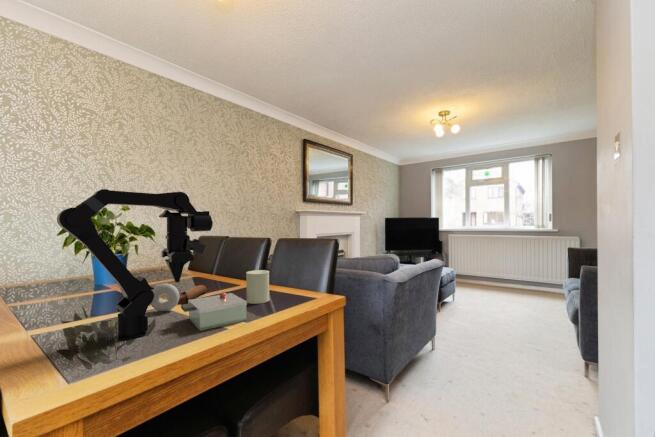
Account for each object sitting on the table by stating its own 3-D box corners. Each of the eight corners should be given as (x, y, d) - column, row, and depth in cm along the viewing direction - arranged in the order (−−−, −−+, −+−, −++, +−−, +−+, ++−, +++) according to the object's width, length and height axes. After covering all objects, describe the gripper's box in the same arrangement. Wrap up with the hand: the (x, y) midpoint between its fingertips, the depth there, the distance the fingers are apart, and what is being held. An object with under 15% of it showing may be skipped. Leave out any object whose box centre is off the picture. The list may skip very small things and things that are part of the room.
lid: (188, 316, 82) (188, 308, 82) (177, 304, 93) (177, 297, 94) (247, 304, 93) (247, 297, 93) (231, 295, 104) (231, 289, 104)
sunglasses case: (188, 292, 131) (195, 279, 131) (201, 300, 131) (209, 287, 131) (166, 304, 113) (175, 289, 113) (182, 313, 113) (191, 298, 113)
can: (267, 303, 112) (267, 272, 112) (243, 304, 112) (243, 272, 112) (271, 297, 121) (271, 268, 121) (249, 297, 121) (249, 269, 121)
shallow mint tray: (200, 330, 84) (200, 313, 84) (188, 318, 95) (188, 303, 95) (246, 320, 93) (246, 304, 93) (231, 310, 104) (231, 296, 104)
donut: (147, 313, 101) (147, 284, 101) (151, 310, 104) (151, 282, 104) (177, 312, 102) (177, 283, 102) (181, 309, 106) (181, 281, 106)
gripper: (212, 232, 88) (212, 283, 88) (196, 230, 103) (197, 274, 103) (171, 233, 82) (171, 288, 81) (161, 231, 96) (161, 278, 96)
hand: (177, 282), depth 91 cm, fingers closed
